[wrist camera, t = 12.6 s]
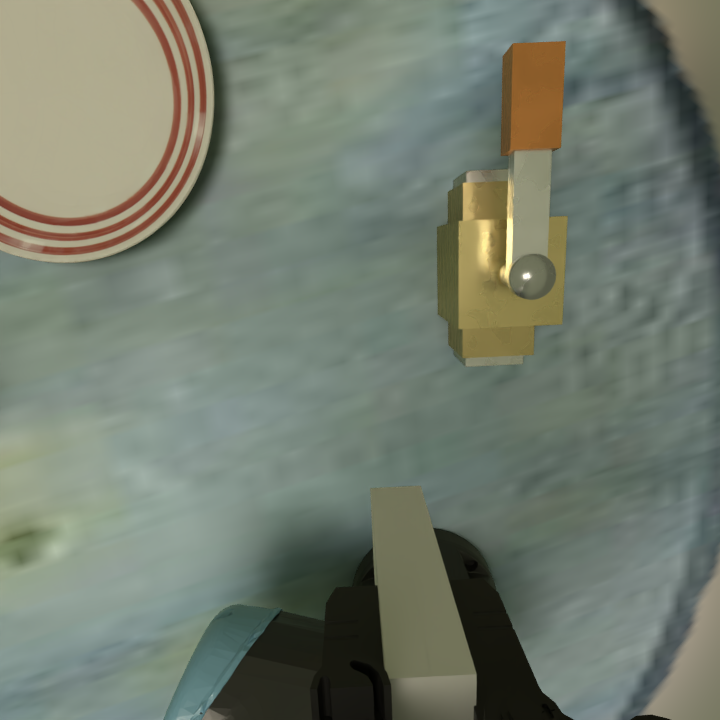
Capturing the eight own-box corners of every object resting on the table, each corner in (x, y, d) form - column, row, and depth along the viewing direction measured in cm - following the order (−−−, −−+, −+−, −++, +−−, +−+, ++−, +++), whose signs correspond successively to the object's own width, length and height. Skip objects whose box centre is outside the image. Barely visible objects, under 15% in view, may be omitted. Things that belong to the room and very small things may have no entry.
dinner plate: (-150, 152, 42) (-191, 144, 39) (-28, -170, 37) (-64, -210, 34) (137, 318, 46) (120, 323, 42) (282, 44, 41) (276, 26, 37)
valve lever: (491, 295, 36) (508, 300, 32) (494, 66, 33) (515, 40, 29) (533, 293, 36) (556, 298, 32) (541, 64, 33) (568, 38, 29)
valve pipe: (520, 351, 47) (559, 374, 38) (438, 355, 47) (458, 379, 38) (525, 177, 43) (570, 157, 34) (436, 180, 43) (458, 162, 34)
